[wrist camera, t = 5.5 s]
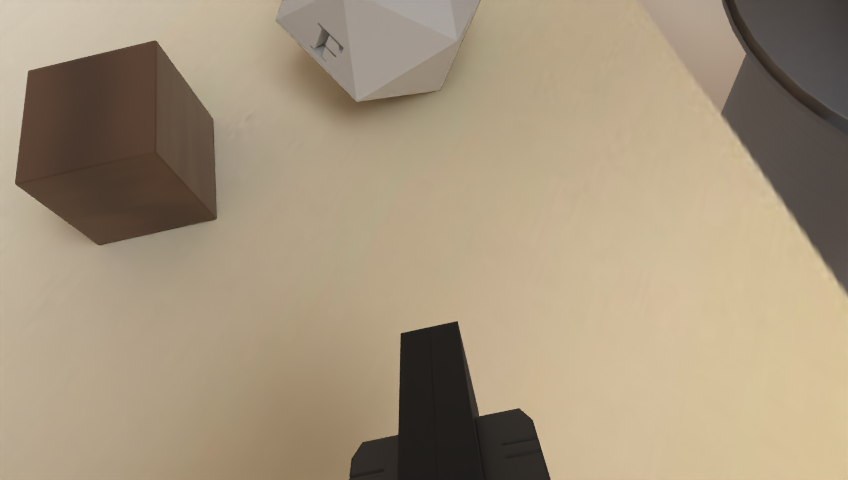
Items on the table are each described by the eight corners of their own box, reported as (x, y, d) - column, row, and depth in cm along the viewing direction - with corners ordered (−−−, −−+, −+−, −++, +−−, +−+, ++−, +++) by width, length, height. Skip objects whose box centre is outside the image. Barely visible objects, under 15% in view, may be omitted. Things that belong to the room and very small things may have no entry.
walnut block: (213, 118, 35) (156, 39, 30) (217, 219, 33) (155, 152, 27) (103, 144, 36) (27, 70, 30) (98, 245, 33) (13, 184, 28)
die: (308, 25, 38) (205, 2, 29) (412, -111, 35) (336, -187, 26) (415, 132, 38) (346, 145, 28) (530, 4, 35) (497, -30, 25)
